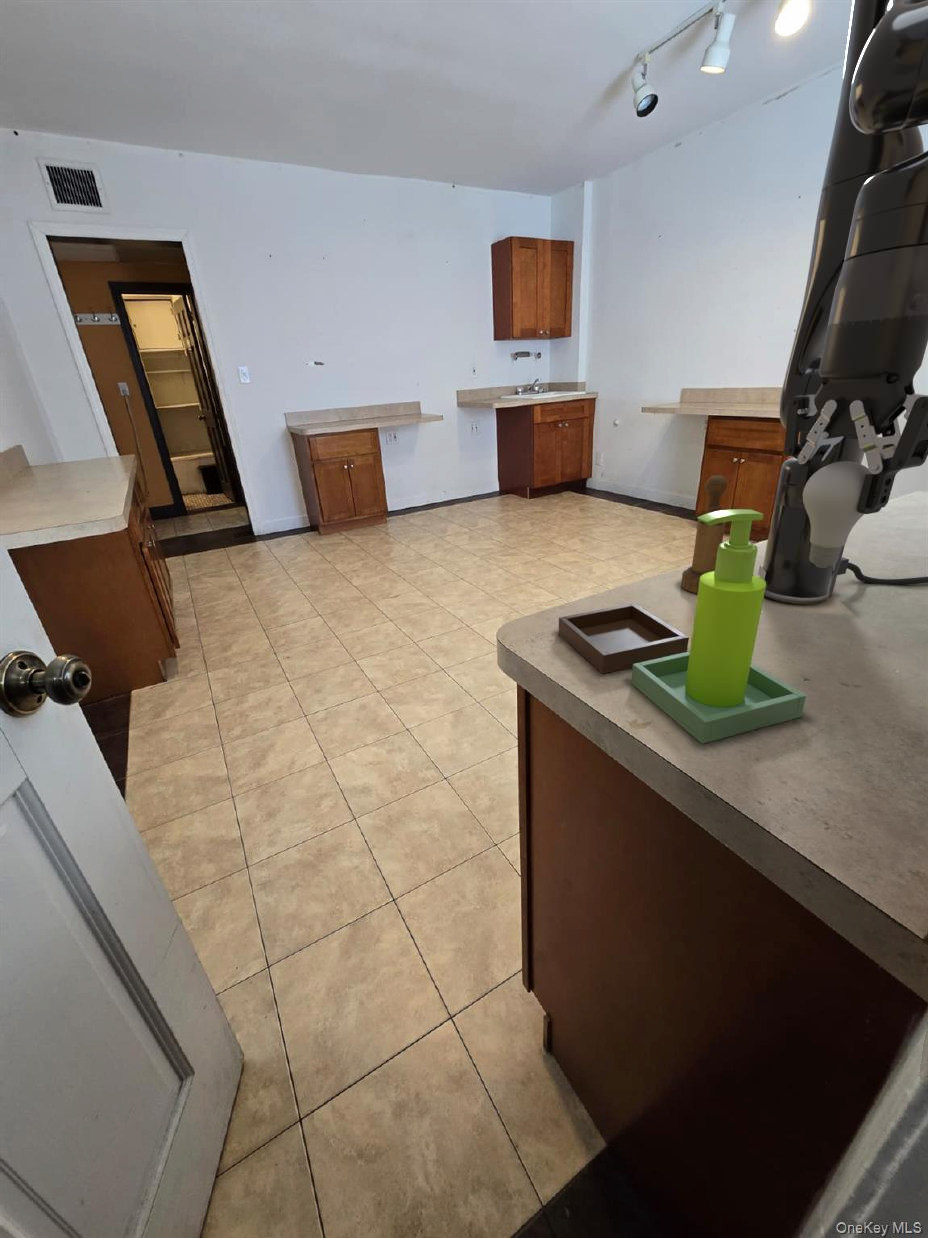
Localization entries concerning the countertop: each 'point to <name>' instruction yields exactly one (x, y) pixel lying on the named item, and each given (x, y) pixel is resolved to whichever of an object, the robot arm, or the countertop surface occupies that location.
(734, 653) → the soap dispenser
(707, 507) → the wooden pepper mill
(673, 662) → the green tray
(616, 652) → the walnut tray
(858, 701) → the countertop surface
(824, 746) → the countertop surface
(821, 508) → the lightbulb
